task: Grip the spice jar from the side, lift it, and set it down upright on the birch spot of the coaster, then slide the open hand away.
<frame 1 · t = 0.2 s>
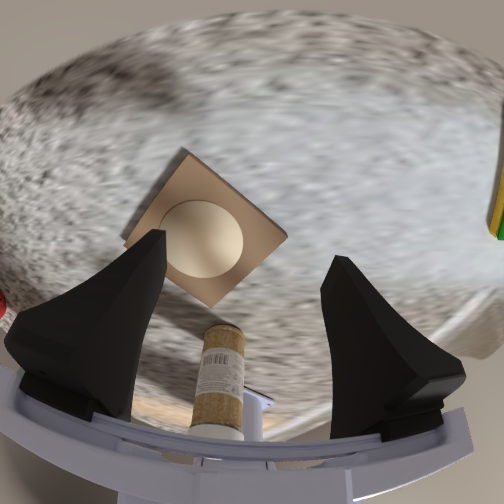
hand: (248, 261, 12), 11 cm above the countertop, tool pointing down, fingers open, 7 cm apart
spice coaster: (201, 237, 23), on the countertop
spice jar: (225, 336, 29), on the countertop
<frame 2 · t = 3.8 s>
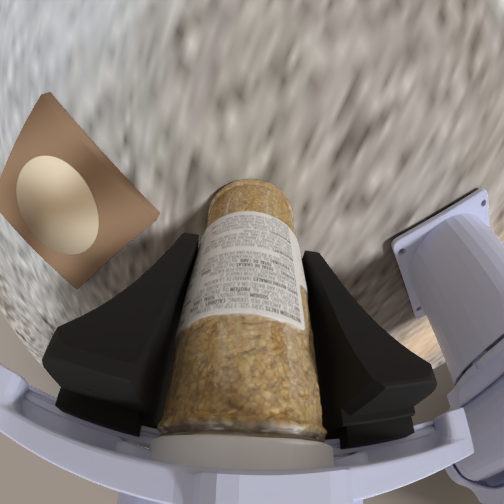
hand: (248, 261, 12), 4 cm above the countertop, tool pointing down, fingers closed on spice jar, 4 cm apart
spice coaster: (60, 202, 14), on the countertop
spice jar: (250, 212, 15), on the countertop, touching gripper
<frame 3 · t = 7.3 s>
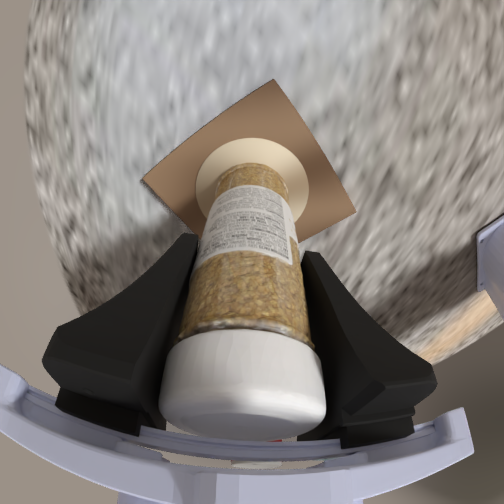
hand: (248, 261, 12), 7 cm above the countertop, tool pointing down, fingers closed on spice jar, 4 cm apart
spice coaster: (252, 186, 17), on the countertop
canned food: (257, 404, 41), on the countertop
spice jar: (251, 192, 17), point 1 cm above the countertop, touching gripper, spice coaster
when the fingers open (6 cm above the countertop, at t = 8.0 s): spice jar stays where it is, resting on spice coaster.
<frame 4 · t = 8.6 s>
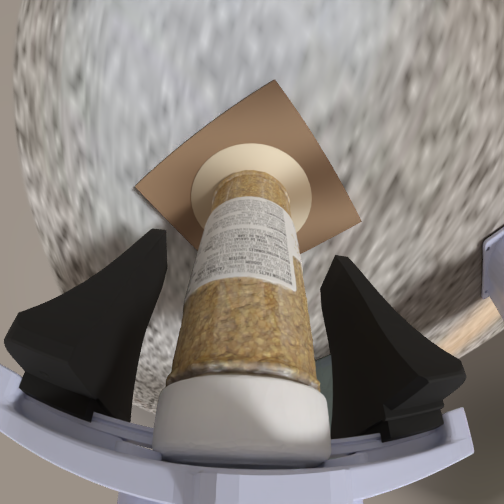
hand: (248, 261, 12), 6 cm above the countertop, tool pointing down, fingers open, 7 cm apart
spice coaster: (251, 195, 16), on the countertop
spice jar: (250, 201, 16), point 1 cm above the countertop, touching spice coaster
grey-green tapered cup: (340, 366, 30), on the countertop
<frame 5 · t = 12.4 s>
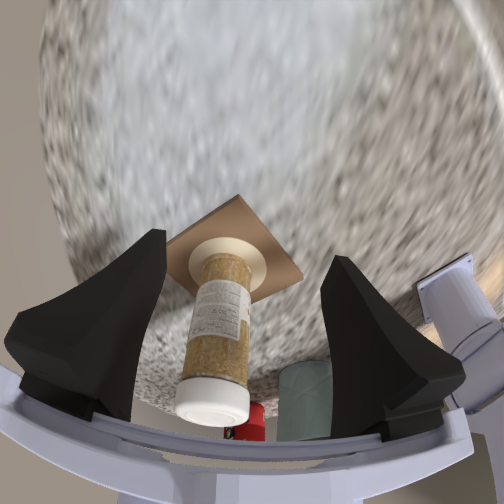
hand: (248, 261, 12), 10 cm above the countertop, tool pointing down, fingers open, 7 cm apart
spice coaster: (227, 263, 25), on the countertop
canned food: (245, 406, 48), on the countertop
spice jar: (227, 269, 25), point 1 cm above the countertop, touching spice coaster
grey-green tapered cup: (307, 371, 39), on the countertop
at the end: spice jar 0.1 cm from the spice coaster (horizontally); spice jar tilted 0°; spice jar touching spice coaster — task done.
